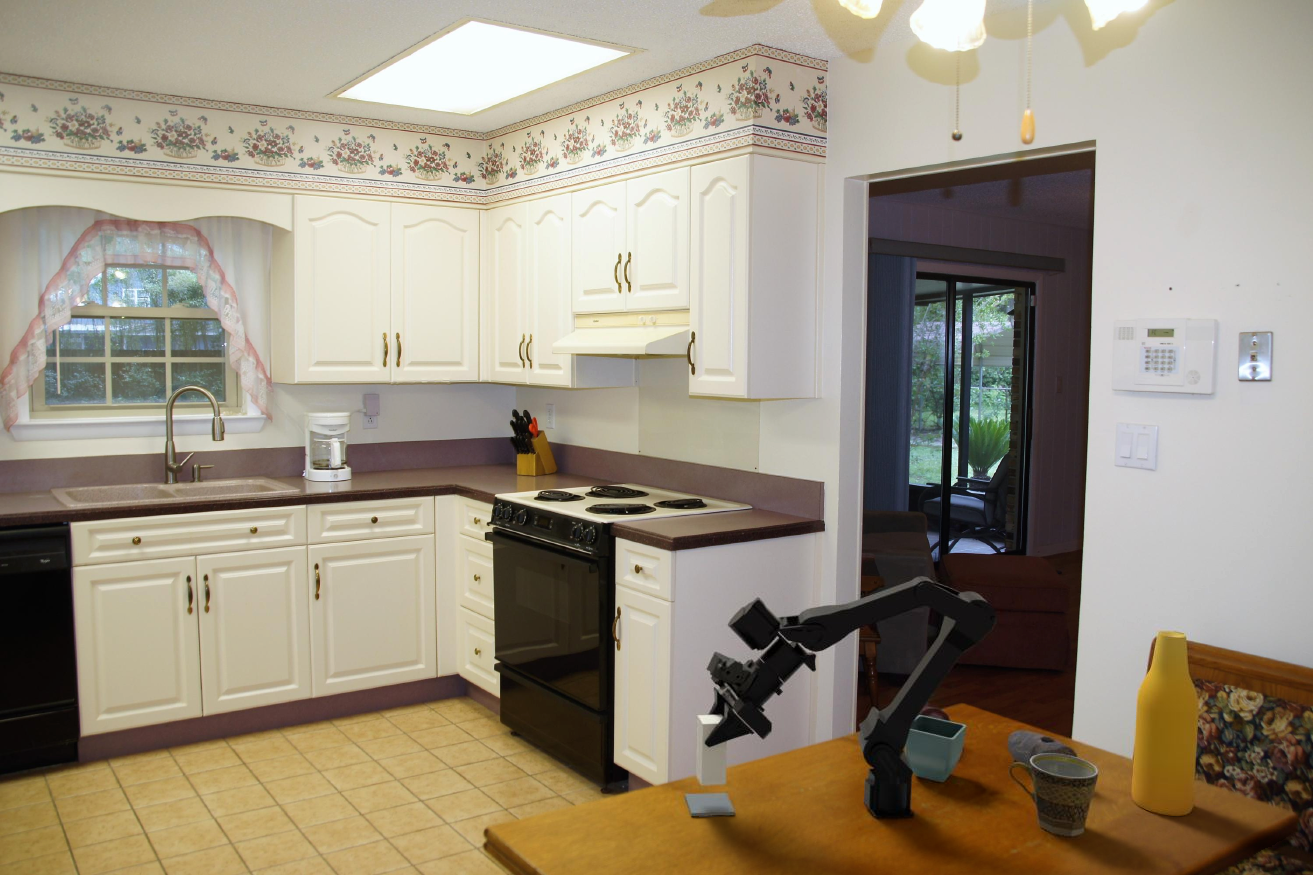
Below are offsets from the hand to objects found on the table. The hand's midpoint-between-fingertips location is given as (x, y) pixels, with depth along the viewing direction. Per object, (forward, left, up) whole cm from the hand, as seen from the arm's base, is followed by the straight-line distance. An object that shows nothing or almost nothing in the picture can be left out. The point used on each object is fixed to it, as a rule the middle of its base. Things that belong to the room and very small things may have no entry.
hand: (703, 739), depth 158 cm
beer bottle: (-77, +4, -11) cm, 78 cm away
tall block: (-1, 0, -7) cm, 7 cm away
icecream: (-50, -26, -11) cm, 57 cm away
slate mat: (-1, 0, -11) cm, 11 cm away
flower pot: (-43, -10, -11) cm, 46 cm away
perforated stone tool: (-63, -11, -11) cm, 65 cm away
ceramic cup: (-54, +10, -11) cm, 56 cm away
